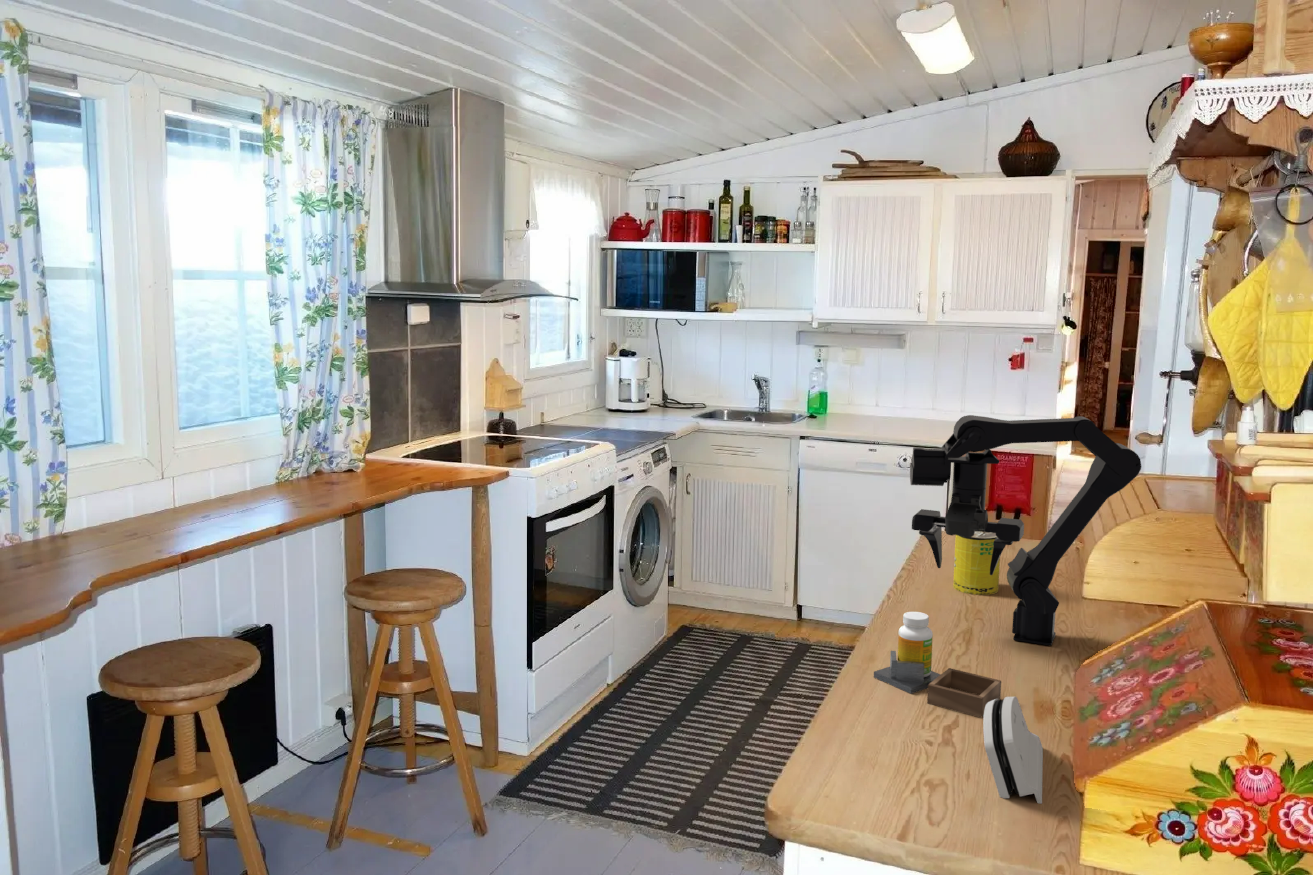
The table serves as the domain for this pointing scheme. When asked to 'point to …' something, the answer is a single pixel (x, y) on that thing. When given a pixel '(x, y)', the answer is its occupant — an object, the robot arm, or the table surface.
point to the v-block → (905, 675)
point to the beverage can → (975, 564)
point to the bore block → (960, 700)
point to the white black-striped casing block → (1012, 749)
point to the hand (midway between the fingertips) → (965, 571)
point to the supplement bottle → (916, 640)
